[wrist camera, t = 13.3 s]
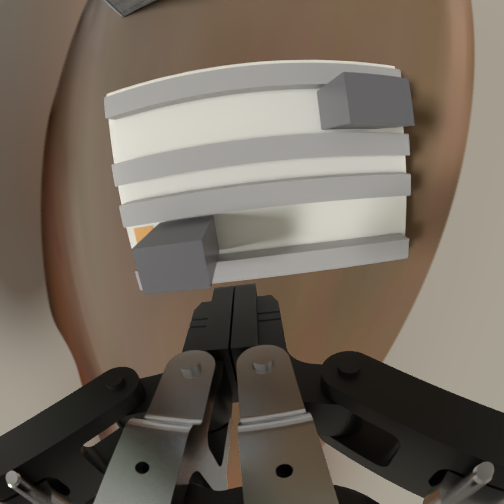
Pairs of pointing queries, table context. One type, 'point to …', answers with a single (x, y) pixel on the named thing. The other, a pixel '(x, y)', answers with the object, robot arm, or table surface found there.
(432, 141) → the table surface
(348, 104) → the inner tab
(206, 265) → the grey slider block
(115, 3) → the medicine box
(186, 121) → the switch board
